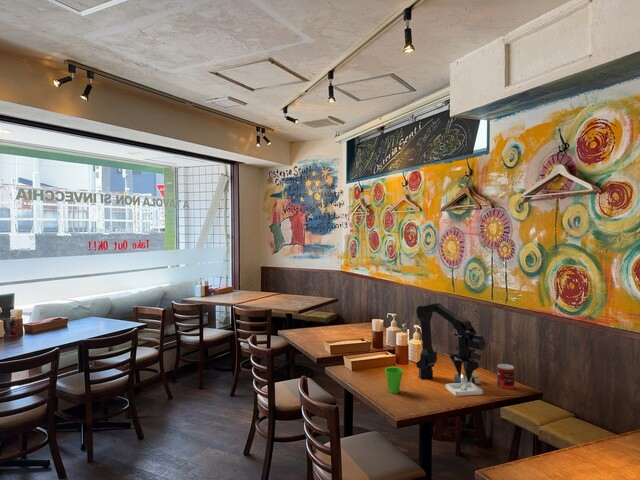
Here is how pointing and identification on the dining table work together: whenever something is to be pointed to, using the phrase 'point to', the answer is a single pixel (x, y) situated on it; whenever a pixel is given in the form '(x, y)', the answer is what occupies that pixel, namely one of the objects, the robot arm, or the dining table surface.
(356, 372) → the dining table surface
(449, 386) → the tray
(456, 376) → the plate
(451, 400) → the dining table surface
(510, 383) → the canned food
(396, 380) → the cup
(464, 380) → the pin
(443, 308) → the robot arm
